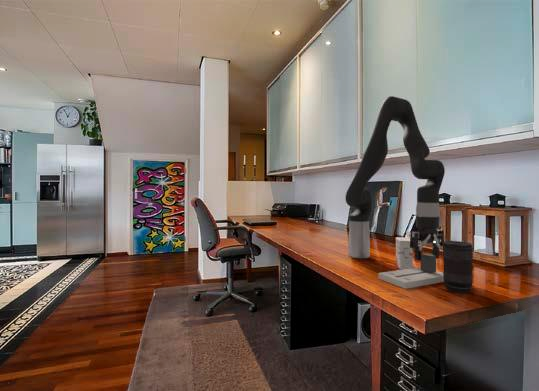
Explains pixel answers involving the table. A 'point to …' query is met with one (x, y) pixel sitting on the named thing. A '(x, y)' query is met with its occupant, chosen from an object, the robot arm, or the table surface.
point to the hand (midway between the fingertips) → (427, 259)
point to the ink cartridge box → (404, 252)
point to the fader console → (411, 277)
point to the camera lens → (458, 266)
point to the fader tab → (428, 263)
